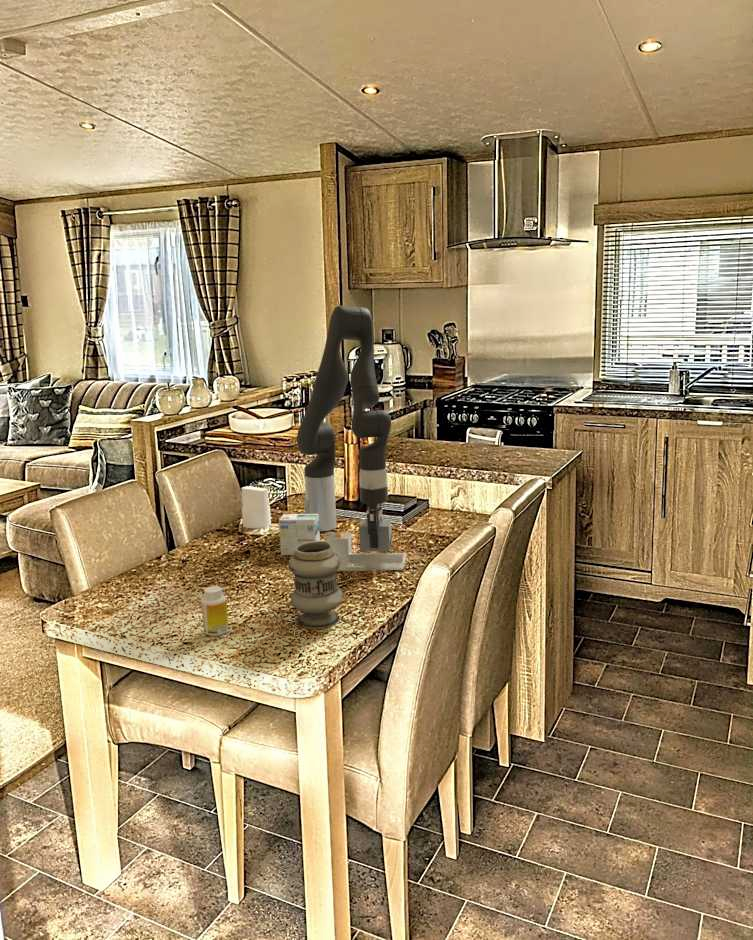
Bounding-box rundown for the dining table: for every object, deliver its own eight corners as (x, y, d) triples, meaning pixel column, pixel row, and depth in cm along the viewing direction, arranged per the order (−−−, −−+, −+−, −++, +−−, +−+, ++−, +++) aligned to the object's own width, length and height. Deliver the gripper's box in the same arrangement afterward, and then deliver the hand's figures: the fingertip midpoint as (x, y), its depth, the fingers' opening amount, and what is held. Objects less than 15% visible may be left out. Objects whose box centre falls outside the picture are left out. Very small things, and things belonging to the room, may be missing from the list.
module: (360, 551, 230) (359, 526, 229) (362, 544, 236) (361, 520, 235) (389, 551, 229) (388, 526, 228) (391, 544, 235) (390, 520, 234)
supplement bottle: (233, 631, 192) (230, 588, 190) (213, 639, 188) (210, 595, 186) (218, 624, 196) (215, 582, 193) (198, 632, 192) (195, 589, 189)
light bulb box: (321, 548, 249) (319, 512, 246) (317, 555, 242) (315, 519, 240) (285, 548, 250) (282, 513, 248) (280, 555, 243) (278, 519, 241)
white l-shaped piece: (322, 570, 230) (320, 540, 228) (329, 556, 241) (327, 527, 239) (403, 571, 227) (402, 540, 225) (406, 556, 239) (405, 527, 237)
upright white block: (276, 522, 277) (274, 486, 274) (258, 529, 269) (256, 493, 267) (255, 519, 282) (252, 484, 279) (237, 526, 274) (234, 490, 272)
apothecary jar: (281, 621, 196) (276, 547, 192) (320, 606, 204) (317, 534, 200) (315, 636, 188) (311, 558, 184) (355, 619, 196) (352, 545, 192)
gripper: (362, 478, 236) (365, 536, 240) (356, 491, 222) (358, 552, 226) (389, 478, 235) (391, 536, 239) (384, 490, 221) (386, 552, 225)
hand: (375, 543), depth 233 cm, fingers closed on module, 6 cm apart
